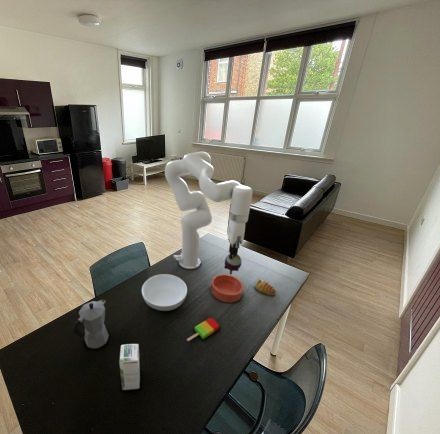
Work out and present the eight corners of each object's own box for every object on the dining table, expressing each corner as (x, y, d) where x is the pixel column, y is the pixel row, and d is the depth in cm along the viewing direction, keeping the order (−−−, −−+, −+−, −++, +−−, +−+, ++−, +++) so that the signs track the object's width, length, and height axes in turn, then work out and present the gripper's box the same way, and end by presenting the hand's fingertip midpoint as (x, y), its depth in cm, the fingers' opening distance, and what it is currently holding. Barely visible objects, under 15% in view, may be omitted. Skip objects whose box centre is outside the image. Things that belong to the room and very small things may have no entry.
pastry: (277, 291, 117) (278, 285, 115) (271, 298, 113) (273, 292, 111) (258, 282, 123) (260, 276, 121) (252, 288, 119) (254, 282, 117)
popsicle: (220, 328, 98) (220, 325, 97) (191, 347, 90) (191, 344, 89) (210, 319, 102) (211, 316, 101) (182, 336, 94) (182, 333, 94)
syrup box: (123, 372, 82) (119, 344, 75) (140, 371, 82) (138, 342, 76) (122, 390, 77) (118, 361, 70) (140, 389, 77) (138, 360, 71)
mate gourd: (238, 276, 107) (245, 254, 97) (220, 272, 108) (226, 250, 99) (239, 264, 112) (246, 241, 103) (222, 260, 114) (227, 238, 105)
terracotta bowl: (213, 302, 111) (214, 294, 108) (209, 281, 124) (210, 273, 122) (245, 303, 110) (246, 295, 108) (237, 282, 123) (239, 274, 121)
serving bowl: (137, 290, 118) (137, 279, 115) (177, 281, 124) (177, 270, 121) (148, 322, 100) (148, 310, 97) (194, 310, 106) (194, 299, 103)
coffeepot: (100, 321, 101) (95, 288, 93) (117, 331, 96) (113, 298, 89) (70, 350, 89) (61, 315, 82) (87, 363, 85) (80, 327, 77)
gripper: (226, 208, 105) (221, 243, 113) (233, 224, 91) (227, 263, 99) (243, 208, 105) (237, 244, 113) (253, 225, 91) (245, 264, 99)
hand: (232, 253), depth 106 cm, fingers closed on mate gourd, 1 cm apart
